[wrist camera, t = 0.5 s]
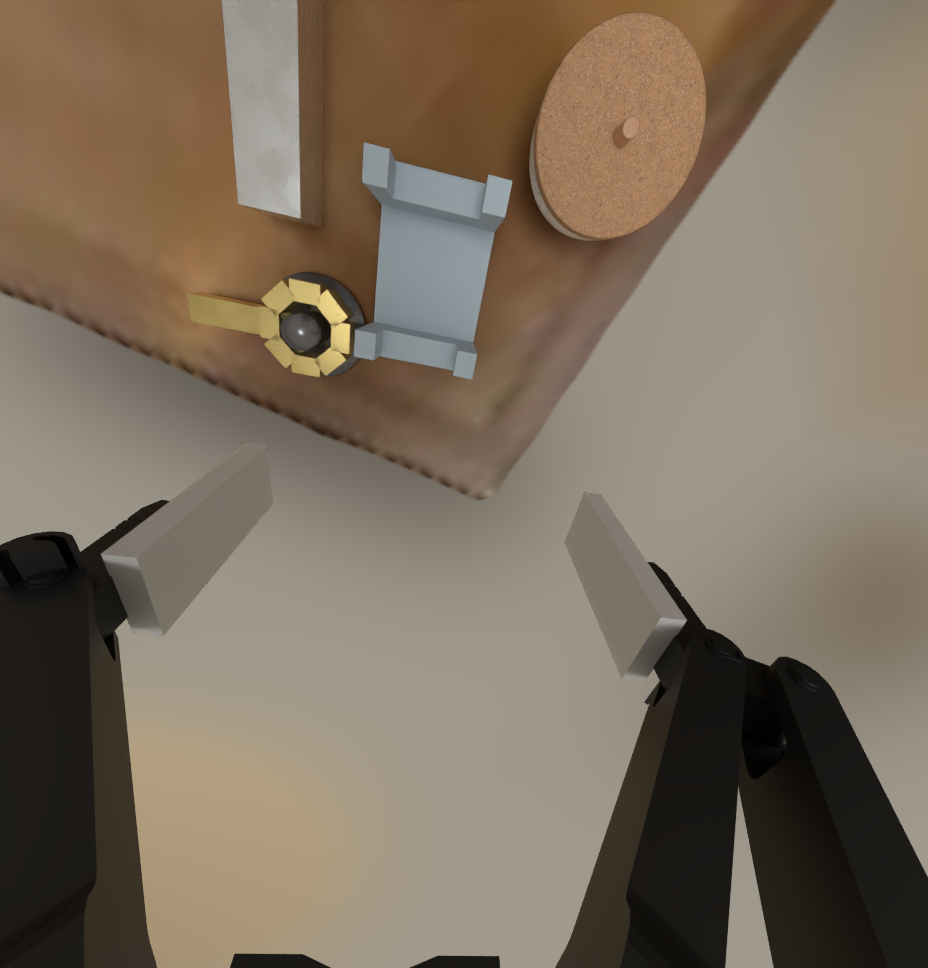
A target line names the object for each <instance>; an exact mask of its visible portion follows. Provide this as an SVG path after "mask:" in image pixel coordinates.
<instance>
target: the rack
mask: <svg viewBox="0 0 928 968" xmlns="http://www.w3.org/2000/svg"><path fill="white" fill-rule="evenodd" d="M362 183H363V184H364V185H365V186H366V188H367V189H368V190H369V191H370V192H371V193H372V194H373V195H374V197H375V198H376V199H377V200H378V201H379V202H380V203H381V204H382V210H381V224H380V239H379V254H378V268H377V283H376V297H375V312H374V322H372V323H370V324H367V325H365V326H363V327H360V328H358V329H356V330H355V343H354V357H359V358H364V359H369V360H375V359H376V358H377V357H379V356H381V357H386V358H391V359H396V360H402V361H407V362H412V363H417V364H422V365H427V366H432V367H437V368H442V369H448V370H453V376H457V377H462V378H467V379H472V378H473V373H474V369H475V364H476V359H477V352H476V349H475V346H474V343H473V342H474V337H475V331H476V326H477V321H478V316H479V311H480V306H481V300H482V295H483V290H484V285H485V280H486V275H487V270H488V264H489V259H490V254H491V249H492V244H493V239H494V234H495V231H496V230H497V228H498V227H499V225H500V224H501V223H502V221H503V220H504V218H505V215H506V210H507V205H508V200H509V196H510V191H511V186H512V181H511V180H508V179H504V178H500V177H496V176H492V175H488V178H487V182H486V184H484V183H480V182H477V181H473V180H469V179H465V178H461V177H457V176H453V175H449V174H445V173H441V172H438V171H434V170H430V169H426V168H422V167H418V166H414V165H410V164H406V163H402V162H399V161H395V159H394V157H393V155H392V153H391V151H390V149H388V148H384V147H380V146H377V145H373V144H369V143H365V142H364V150H363V171H362Z"/></svg>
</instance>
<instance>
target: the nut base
mask: <svg viewBox="0 0 928 968" xmlns="http://www.w3.org/2000/svg"><path fill="white" fill-rule="evenodd" d="M289 278H290V279H303V280H307V281H312V282H317V283H321V284H326V285H330V290H337V291H338V293H339V294H340V295H341V297H342V298H343V299H344V301H345V302H346V303H347V305H348V306H349V308H350V309H351V310H352V312H353V313H354V314H355V316H353V317H352V318H351V319H350V321H355V322H357V329H358V328H360V327H363V326H365V325H366V320H365V316H364V313H363V311H362V308H361V306H360V304H359V303H358V301H357V300H356V298H355V297H354V295H353V294H352V293H351V292H350V291H349V290H348V289H347V288H346V287H345V286H344V285H343V284H341V283H340V282H338V281H337V280H335V279H333V278H331V277H329V276H326V275H323V274H319V273H311V272H302V273H296V274H293V275H290V276H288V277H286V278H285V279H283V280H289ZM281 334H282V337H283V339H284V341H285V342H286V343H287V344H288V345H289V346H290V347H292V348H293V349H296V350H299V351H304V350H306V351H311V352H316V353H322V354H323V353H324V352H325V351H326V350H328V349H329V348H330V347H331V324H330V323H329V321H328V320H327V319H326V318H325V316H324V315H323V314H322V313H321V311H320V310H319V309H318V307H317V306H316V305H311V304H306V303H301V304H300V305H299V306H298V307H296V308H295V309H294V310H293V311H292V312H291V315H289V316H287V317H286V318H285V319H284V320H283V321H282V324H281ZM352 354H353V356H352V357H351V358H349V359H348V360H347V361H345V362H344V363H343V364H342V365H340V366H339V367H338V368H337V369H335V370H334V371H333V372H331V373H330V374H328V375H327V376H334V375H337V374H340V373H343V372H345V371H346V370H348V369H349V368H351V367H352V366H353V365H354V364H355V363H356V362H357V361H358V360H359V359H360V358H359V357H354V351H353V352H352ZM323 376H326V375H325V374H324V375H323Z"/></svg>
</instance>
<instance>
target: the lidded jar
mask: <svg viewBox="0 0 928 968" xmlns="http://www.w3.org/2000/svg"><path fill="white" fill-rule="evenodd" d="M705 117H706V92H705V81H704V77H703V73H702V69H701V64H700V62H699V59H698V57H697V55H696V52H695V50H694V48H693V46H692V45H691V43H690V42H689V40H688V39H687V37H686V36H685V35H684V34H683V33H682V32H681V31H680V30H679V29H678V28H677V27H676V26H675V25H674V24H673V23H671V22H669V21H668V20H666V19H665V18H663V17H660V16H657V15H654V14H651V13H643V12H631V13H625V14H620V15H617V16H615V17H612V18H610V19H607V20H605V21H603V22H602V23H600V24H598V25H597V26H595V27H594V28H592V29H590V30H589V31H588V32H587V33H586V34H585V35H584V36H583V37H582V38H580V39H579V40H578V41H577V42H576V43H575V45H574V46H573V47H572V48H571V49H570V51H569V52H568V53H567V54H566V55H565V57H564V58H563V60H562V62H561V63H560V65H559V66H558V68H557V70H556V71H555V73H554V75H553V77H552V79H551V81H550V84H549V86H548V88H547V90H546V92H545V95H544V98H543V101H542V104H541V107H540V110H539V113H538V117H537V120H536V123H535V126H534V131H533V136H532V140H531V147H530V158H529V168H530V180H531V186H532V191H533V194H534V197H535V201H536V203H537V205H538V207H539V209H540V211H541V213H542V214H543V216H544V217H545V219H546V220H547V221H548V222H549V223H550V224H551V225H552V226H553V227H554V228H555V229H556V230H558V231H559V232H560V233H562V234H564V235H566V236H568V237H570V238H574V239H578V240H584V241H597V240H608V239H615V238H619V237H622V236H625V235H628V234H631V233H633V232H635V231H637V230H639V229H641V228H643V227H644V226H645V225H647V224H648V223H650V222H651V221H652V220H654V219H655V218H656V217H657V216H658V215H659V214H660V213H661V212H662V211H663V210H665V208H666V207H667V206H668V205H669V204H670V203H671V201H672V200H673V199H674V198H675V196H676V195H677V193H678V192H679V190H680V189H681V187H682V186H683V184H684V183H685V181H686V179H687V177H688V175H689V173H690V171H691V169H692V167H693V164H694V162H695V159H696V156H697V154H698V151H699V147H700V143H701V140H702V136H703V130H704V124H705Z"/></svg>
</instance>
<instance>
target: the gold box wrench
mask: <svg viewBox="0 0 928 968" xmlns="http://www.w3.org/2000/svg"><path fill="white" fill-rule="evenodd" d="M187 296H188V302H189V309H190V315H191V321H192V322H197V323H202V324H207V325H212V326H218V327H223V328H228V329H233V330H238V331H243V332H248V333H253V334H259V335H261V337H262V338H268V339H269V340H268V341H267V342H266V343H265V344H264V345H265V346H266V347H267V348H268V349H269V351H270V352H271V353H272V354H273V355H274V356H275V357H276V358H277V359H278V361H279V362H280V363H281V364H282V365H283V366H284V367H285V368H287V367H290V366H292V372H294V373H299V374H305V375H310V376H315V377H321V376H323V375H324V374H325V375H326V376H327V375H328V374H330V373H331V372H333V371H334V370H335V369H337V368H338V367H339V366H340V365H342V364H343V363H344V362H345V361H347V360H348V359H349V358H351V357H352V356H353V354H352V352H353V351H354V343H355V330H356V329H357V322H355V321H350V319H351V318H352V317H353V316H355V314H354V313H353V312H352V310H351V309H350V308H349V306H348V305H347V303H346V302H345V301H344V299H343V298H342V297H341V295H340V294H339V293H338V291H337V290H330V285H326V284H321V283H317V282H312V281H307V280H303V279H290V278H289V280H281V281H280V282H279V283H278V284H277V285H276V286H275V287H274V288H273V289H272V290H271V291H269V292H268V293H267V294H266V295H265V296H264V297H263V298H262V299H261V300H262V301H263V302H264V303H265V305H261V304H257V303H252V302H247V301H242V300H237V299H232V298H227V297H222V296H217V295H212V294H208V293H187ZM301 303H306V304H311V305H316V306H317V307H318V309H319V310H320V311H321V313H322V314H323V315H324V316H325V318H326V319H327V320H328V321H329V323H330V324H331V347H330V348H329V349H328V350H326V351H325V352H324V353H323V354H322V353H316V352H311V351H306V350H304V351H299V350H296V349H293V348H292V347H290V346H289V345H288V344H287V343H286V342H285V341H284V339H283V337H282V334H281V324H282V321H283V320H284V319H285V318H286V317H287V316H289V315H291V312H292V311H293V310H294V309H295V308H296V307H298V306H299V305H300V304H301Z"/></svg>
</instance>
